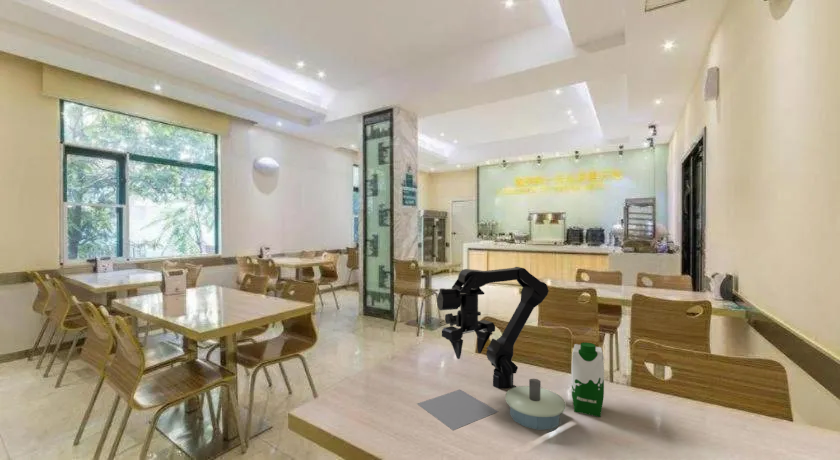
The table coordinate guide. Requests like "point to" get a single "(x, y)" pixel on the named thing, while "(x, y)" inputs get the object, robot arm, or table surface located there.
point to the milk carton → (587, 379)
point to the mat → (457, 409)
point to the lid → (535, 400)
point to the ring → (535, 420)
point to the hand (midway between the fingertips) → (469, 355)
